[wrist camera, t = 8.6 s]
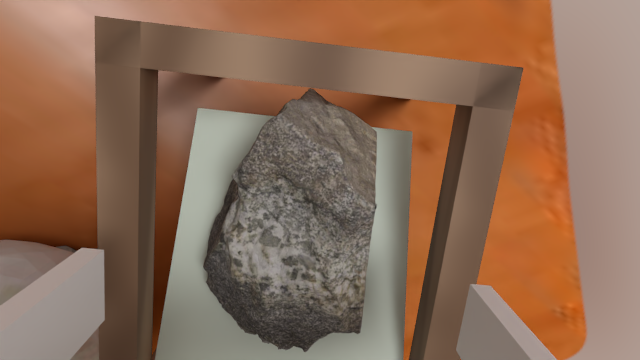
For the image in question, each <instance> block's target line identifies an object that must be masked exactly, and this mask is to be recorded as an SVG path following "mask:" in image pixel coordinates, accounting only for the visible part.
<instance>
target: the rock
mask: <svg viewBox="0 0 640 360" xmlns="http://www.w3.org/2000/svg"><path fill="white" fill-rule="evenodd" d="M376 160H377V132H376V131H375V130H374V129H373V128H372V127H371V126H370V125H368V124H367V123H365V122H364V121H363V120H361V119H360V118H359V117H357V116H356V115H355V114H354V113H352V112H350V111H348V110H346V109H344V108H342V107H339V106H336V105H334V104H332V103H330V102H328V101H326V100H325V99H324V98H323V97H322V96H321V95H319V94H318V93H317V92H316V91H315V90H313V89H311V88H310V89H309V90H308V91H307V92H306V93H305V94H304V95H303V96H302V97H301V99H298V100H294V99H292V100H291V101H289V102H288V103H286V104H285V105H284V106H283V108H282V109H281V111H280V112H279V114H278V115H277V116H275V117H272V118H271V119H269V120H268V121H267V122H266V123H265V124H264V126H263V127H262V129H261V130H260V132H259V134H258V136H257V138H256V140H255V142H254V144H253V146H252V147H251V149H250V151H249V153H248V154H247V155H246V156H245V157H244V159H243V160H242V162H241V163H240V164H239V166H238V167H237V169H236V170H235V172H234V173H233V175H232V179H233V180H232V181H231V183H230V185H229V188H228V191H227V193H226V196H225V199H224V205H223V207H222V209H221V211H220V213H219V214H218V215H217V217H216V218H215V221H214V223H213V227H212V229H211V232H210V236H209V240H208V249H207V256H206V258H205V261H204V265H203V267H204V270H205V271H206V272H207V273H208V278H207V281H206V283H207V285H208V287H209V289H210V291H211V292H212V293H213V294H214V295H215V296H216V297H217V300H218V301H219V303H220V304H222V308H223V309H224V310H225V311H226V312H227V313H229V314H230V315H231V316H232V317H233V319H234V320H236V322H237V325H238V326H239V327H240V328H241V329H242V330H244V332H245V333H249V334H253V335H256V334H257V335H258V337H259V338H260V339H261V340H262V342H264V343H268V344H269V343H272V344H273V345H275V346H277V347H278V350H279V349H285V350H288V349H291V348H292V347H293V346H295V347H298V348H302V349H303V351H304V352H307V351H308V350H309V348H310V347H311V346H312V345H313V344H314V343H315V342H316V341H317V340H319V339H321V338H323V337H325V336H327V335H328V334H331V333H333V332H334V333H348V334H349V333H352V332H354V333H356V334H358V333H360V331H361V326H362V317H363V307H364V299H365V288H366V273H367V266H368V259H369V252H370V241H371V235H372V227H373V223H374V216H375V210H376V208H377V204H376V203H375V198H376V188H375V181H376Z"/></svg>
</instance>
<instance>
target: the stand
mask: <svg viewBox="0 0 640 360" xmlns="http://www.w3.org/2000/svg"><path fill="white" fill-rule="evenodd" d="M158 70H163V71H171V72H180V73H189V74H197V75H206V76H215V77H223V78H232V79H241V80H249V81H258V82H267V83H275V84H284V85H293V86H301V87H310V88H319V89H327V90H336V91H345V92H353V93H362V94H371V95H379V96H388V97H397V98H405V99H414V100H423V101H431V102H440V103H449V104H456V110H455V115H454V120H453V126H452V131H451V137H450V142H449V147H448V153H447V158H446V163H445V169H444V174H443V180H442V185H441V190H440V196H439V201H438V207H437V212H436V217H435V223H434V228H433V233H432V239H431V244H430V250H429V255H428V260H427V266H426V271H425V276H424V282H423V287H422V293H421V298H420V303H419V309H418V314H417V319H416V325H415V330H414V336H413V341H412V346H411V352H410V357H409V360H460V356H459V354H458V353H457V351H456V348H457V343H458V338H459V334H460V329H461V324H462V320H463V315H464V311H465V306H466V301H467V297H468V292H469V287H470V284H475V285H476V283H477V278H478V273H479V269H480V264H481V260H482V255H483V251H484V246H485V241H486V237H487V232H488V228H489V223H490V218H491V214H492V209H493V205H494V200H495V196H496V191H497V186H498V182H499V177H500V173H501V168H502V164H503V159H504V154H505V150H506V145H507V141H508V136H509V131H510V127H511V122H512V118H513V113H514V109H515V104H516V99H517V95H518V90H519V86H520V81H521V77H522V72H523V68H521V67H512V66H504V65H496V64H488V63H479V62H471V61H463V60H455V59H446V58H438V57H430V56H422V55H413V54H405V53H397V52H388V51H380V50H372V49H364V48H355V47H347V46H339V45H331V44H322V43H314V42H306V41H297V40H289V39H281V38H273V37H264V36H256V35H248V34H240V33H231V32H223V31H215V30H206V29H198V28H190V27H182V26H173V25H165V24H157V23H149V22H140V21H132V20H124V19H115V18H107V17H99V16H95V76H96V156H97V236H98V249H101V250H104V298H105V320H104V321H103V322H102V324H101V325H100V326H99V360H155V356H156V350H157V348H156V350H155V352H154V354H153V355H152V328H153V281H154V234H155V187H156V140H157V93H158Z"/></svg>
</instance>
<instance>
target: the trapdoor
mask: <svg viewBox="0 0 640 360" xmlns="http://www.w3.org/2000/svg"><path fill="white" fill-rule="evenodd" d="M272 117H275V116H267V115H258V114H249V113H240V112H231V111H222V110H213V109H204V108H198V110H197V116H196V122H195V128H194V134H193V140H192V146H191V151H190V157H189V163H188V169H187V175H186V181H185V187H184V192H183V198H182V204H181V210H180V216H179V222H178V228H177V233H176V239H175V245H174V251H173V257H172V263H171V268H170V274H169V280H168V286H167V292H166V298H165V304H164V309H163V315H162V321H161V327H160V333H159V339H158V345H157V350H156V356H155V360H403V351H404V326H405V301H406V277H407V252H408V227H409V203H410V178H411V153H412V132H411V131H402V130H393V129H384V128H375V127H372V128H373V129H374V130H375V131H376V132H377V160H376V181H375V188H376V198H375V203H376V204H377V208H376V210H375V216H374V223H373V227H372V235H371V241H370V252H369V259H368V266H367V273H366V288H365V299H364V307H363V317H362V326H361V331H360V333H358V334H356V333H354V332H352V333H349V334H348V333H334V332H333V333H331V334H328V335H327V336H325V337H323V338H321V339H319V340H317V341H316V342H315V343H314V344H313V345H312V346H311V347H310V348H309V350H308V351H307V352H304V351H303V349H302V348H298V347H295V346H293V347H292V348H291V349H288V350H285V349H279V350H278V347H277V346H275V345H273V344H272V343H269V344H268V343H264V342H262V340H261V339H260V338H259V337H258V335H257V334H256V335H253V334H249V333H245V332H244V330H242V329H241V328H240V327H239V326H238V325H237V322H236V320H234V319H233V317H232V316H231V315H230V314H229V313H227V312H226V311H225V310H224V309H223V308H222V304H220V303H219V301H218V300H217V297H216V296H215V295H214V294H213V293H212V292H211V291H210V289H209V287H208V285H207V283H206V281H207V278H208V273H207V272H206V271H205V270H204V267H203V265H204V261H205V258H206V256H207V249H208V240H209V236H210V232H211V229H212V227H213V223H214V221H215V218H216V217H217V215H218V214H219V213H220V211H221V209H222V207H223V205H224V199H225V196H226V193H227V191H228V188H229V185H230V183H231V181H232V180H233V179H232V175H233V173H234V172H235V170H236V169H237V167H238V166H239V164H240V163H241V162H242V160H243V159H244V157H245V156H246V155H247V154H248V153H249V151H250V149H251V147H252V146H253V144H254V142H255V140H256V138H257V136H258V134H259V132H260V130H261V129H262V127H263V126H264V124H265V123H266V122H267V121H268V120H269V119H271V118H272Z"/></svg>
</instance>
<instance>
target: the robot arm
mask: <svg viewBox="0 0 640 360" xmlns="http://www.w3.org/2000/svg"><path fill="white" fill-rule="evenodd" d="M104 320H105V298H104V250H101V249H91V248H81V249H79V250H78V251H76V252H75V253H74V254H72V255H71V256H69V257H68V258H66V259H65V260H64V261H62V262H61V263H59V264H58V265H57V266H55V267H54V268H52V269H51V270H50V271H48V272H47V273H45V274H44V275H43V276H41V277H40V278H38V279H37V280H36V281H34V282H33V283H31V284H30V285H29V286H27V287H26V288H24V289H23V290H22V291H20V292H19V293H17V294H16V295H15V296H13V297H12V298H10V299H9V300H7V301H6V302H5V303H3V304H2V305H0V360H70V359H71V358H72V357H73V356H74V354H75V353H76V352H77V351H78V350H79V349H80V348H81V346H82V345H83V344H84V343H85V342H86V341H87V340H88V338H89V337H90V336H91V335H92V334H93V333H94V332H95V330H96V329H97V328H98V327H99V326H100V325H101V324H102V322H103V321H104ZM456 351H457V353H458V354H459V356H460V358H461V360H557V359H556V358H555V357H554V356H553V355H552V354H551V353H550V352H549V350H548V349H547V348H546V347H545V346H544V345H543V344H542V343H541V341H540V340H539V339H538V338H537V337H536V336H535V335H534V334H533V333H532V331H531V330H530V329H529V328H528V327H527V326H526V325H525V324H524V323H523V321H522V320H521V319H520V318H519V317H518V316H517V315H516V314H515V313H514V311H513V310H512V309H511V308H510V307H509V306H508V305H507V304H506V303H505V301H504V300H503V299H502V298H501V297H500V296H499V295H498V294H497V292H496V291H495V290H494V289H493V288H492V287H491V286H486V285H475V284H470V287H469V292H468V297H467V301H466V306H465V311H464V315H463V320H462V324H461V329H460V334H459V338H458V343H457V348H456Z"/></svg>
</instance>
